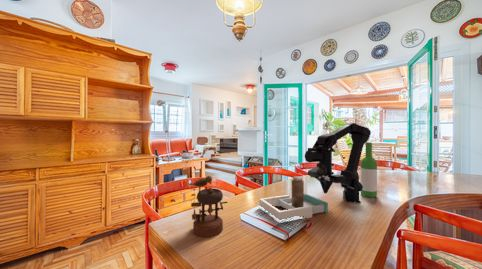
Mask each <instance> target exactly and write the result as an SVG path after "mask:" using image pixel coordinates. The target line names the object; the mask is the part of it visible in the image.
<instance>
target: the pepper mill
mask: <svg viewBox="0 0 482 269" xmlns="http://www.w3.org/2000/svg"><path fill="white" fill-rule="evenodd" d="M304 185H305V184H304V180H303V177H302V176H293V177H292V179H291V198H292V206H293V207H295V208H299V207H304V193H305V192H304Z"/></svg>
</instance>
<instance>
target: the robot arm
mask: <svg viewBox="0 0 482 269" xmlns="http://www.w3.org/2000/svg"><path fill="white" fill-rule="evenodd" d="M371 133H372V131H371V130H370V128H368V127H367V126H363V125H360V124H357V123H356V122H348V123H347V122H346V123H344V124H343V125H342V126H340V127H339V128H337V129H335V130H332V131H331V132H329V133H324V134H321V135H318V137H317V138H316V141H315V143H314V144H313V146H312V147H307V150H306V151H305V153H304V160H305V161H306V162H307V163H316V166H315V167H314V166H313V168H311V169H309V170H308V171H307V176H309V177H310V178H314V179H315V180H317V181H318V182H319V183H320V186H321V189H322V191H323V192H322V193H323V194H325V195H326V194H327V193H328V192H329V190H330V188H331V187H332V185H333V184H340V187H341V188H343V190H342V199H343V200H344V201H345V202H347V203H359V204H360V203H362V201H361V200H360V192H361V190H362V189H363V186H362V184H361V181H360V175H359V173H358V170H359V164H360V162H361V156H362V153H363V148H364V146H365V145H366V142H368V141H369V139H370V137H371ZM348 134H349V135H350V139H351V141H352V144H351V149H350V153H349V157H348V160H347V164H346V167H345V169H341V170H340V174H335V173H334V171H333V167H334V165H335V163H333V158H332V155H333V153H335V152H336V150H335V149H334V148H333V147H334V146H335V145H336V144H337V142H338V141H339V140H340V139H342V138H343V137H345V136H347V135H348Z"/></svg>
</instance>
